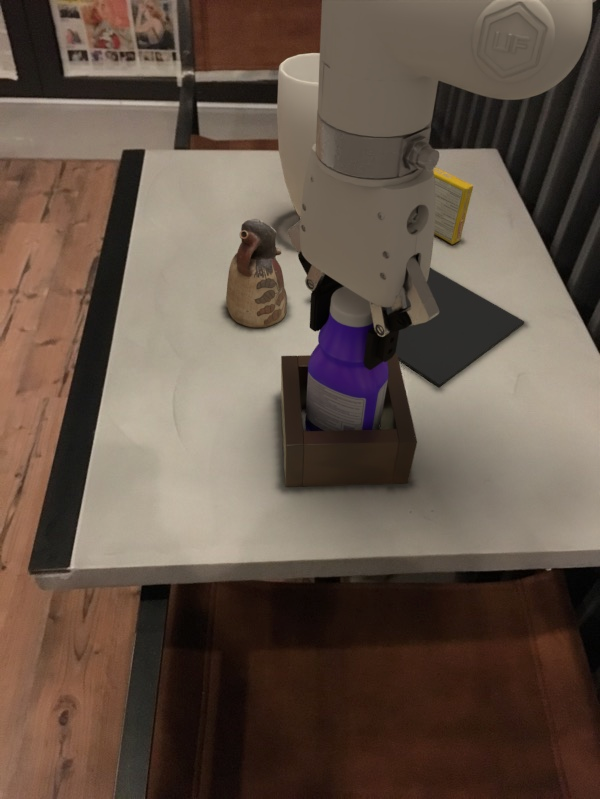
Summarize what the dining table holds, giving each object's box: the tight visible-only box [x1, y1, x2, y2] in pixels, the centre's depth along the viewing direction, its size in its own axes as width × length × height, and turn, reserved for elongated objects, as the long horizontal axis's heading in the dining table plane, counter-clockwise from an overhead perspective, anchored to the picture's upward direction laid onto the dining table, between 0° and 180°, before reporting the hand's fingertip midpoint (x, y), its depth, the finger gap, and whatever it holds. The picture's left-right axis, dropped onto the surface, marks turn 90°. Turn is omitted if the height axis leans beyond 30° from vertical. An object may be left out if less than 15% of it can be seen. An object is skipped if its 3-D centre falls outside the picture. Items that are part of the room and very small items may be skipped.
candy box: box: [433, 166, 474, 245], centre depth 94 cm, size 16×2×8 cm, turn 41°
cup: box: [276, 52, 320, 217], centre depth 86 cm, size 10×10×22 cm
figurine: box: [225, 218, 288, 328], centre depth 78 cm, size 7×7×12 cm
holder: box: [280, 354, 418, 487], centre depth 66 cm, size 12×12×6 cm
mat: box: [342, 267, 525, 388], centre depth 82 cm, size 20×16×1 cm
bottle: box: [304, 286, 388, 431], centre depth 62 cm, size 7×6×17 cm
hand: (351, 340), depth 59 cm, fingers closed on bottle, 5 cm apart
